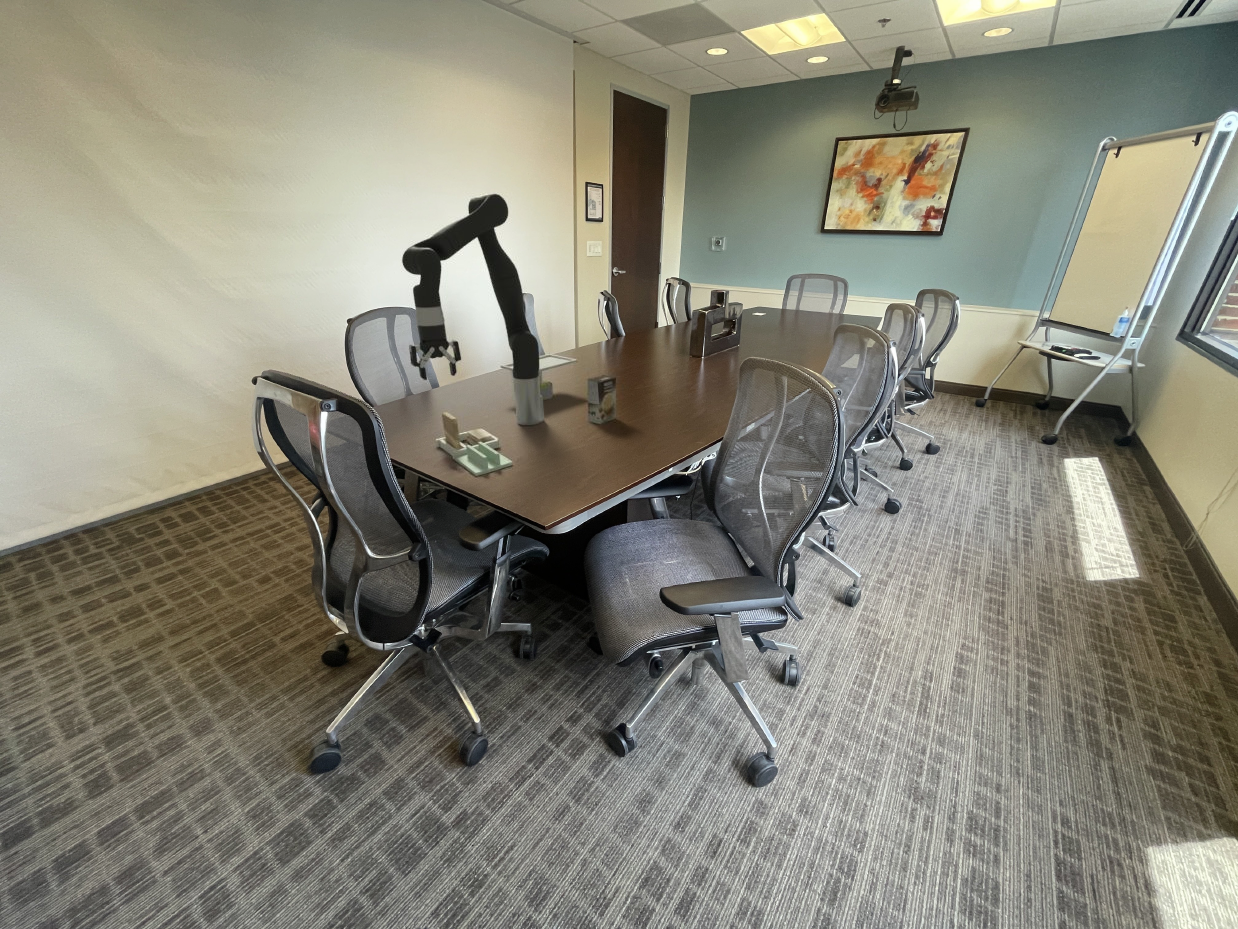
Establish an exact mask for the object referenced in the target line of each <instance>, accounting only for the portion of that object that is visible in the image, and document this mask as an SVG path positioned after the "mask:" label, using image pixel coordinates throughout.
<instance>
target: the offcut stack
mask: <svg viewBox="0 0 1238 929" xmlns="http://www.w3.org/2000/svg"><path fill="white" fill-rule="evenodd" d="M481 429H482V428H476V430H475V429H472V431H471V430H468V432H467V431H466V432H467V434H468V435H467V440H466V442H468V443H469V445H471V446H474V445H478V442H482V443H485V442H489V441H491V439H492V438H491V435H492V434H491V435H489V434H488V433H489V432H488V433H486V432H487V431H486V432H484V431H483V430H484V429H483V430H481Z"/></svg>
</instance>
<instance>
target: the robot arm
mask: <svg viewBox="0 0 1238 929" xmlns="http://www.w3.org/2000/svg"><path fill="white" fill-rule="evenodd" d="M467 208H468V209H467V210H468V215H466V216H464V217H462V218H460V219H458V220H456V221H454V222H451V223H449V224H448V225H446V226H444V227H443V228H441V229H440V230H439V231H437V232H436V233H434V234H432V236H431V237H429V238H427V239H423V240H421V241H419V242H417V243H415V244H413V245H411V246H409V247H408V248H406V250H405V251H404V252H403V255H402V259H401V262H402V267H403V268H404V270H405V271H406V272H408V273H410V274H411V275H415V276H420V277H419V278H420V280H419V284H416V285H414V286H413V288H412V294H413V300H414V302H413V303H414V306H415V318H416V325H417V331H418V337H419V343H418V344H409V346H408V347H409V348H408V350H409V355H410V356H409V358H410V365H412V366H413V367H415V368H416V367H417V368H418V372H419V377H420V378H422V380H423V381H427V380H428V376H427V370H426V367H425V366H426V364H427V362H428V361H429V360H430V359H437V358H443V357H444V358H445V359H446V360H448V364H449V371H450V376H452V377H454V376H455V377H456V374H457V372H458V371H457V362H459V361H462V355H461V350H460V346H459V344H460V343H459V341H457V340H456V339H452V340H450V341H448V338H447V331H446V330H447V329H446V325H445V317H444V311H443V308H442V302H441V295H440V287H441V279H442V278H441V277H442V263H441V262H442V261H446V260H448V259H450V258H452V257H454V255H455V254H457V253H458V252H459V251H461V250H462V249H463V248H464V247H466V246H467V245H468V244H470V243H471V242H472V241H474V240H475V239H477V240H478V243H479V245H480V248H481V251H482V255H483V258H484V262H485V265H486V267H487V270H488V275H489V278H490V279H489V280H490V282H491V286H492V289H493V292H494V295H495V298H496V301H497V304H498V306H499V309H500V312H501V314H502V316H503V320H504V324H505V330H506V336H507V341H508V347H509V349H510V350H511V352H512V363H513V371H512V381H513V391H514V392H513V393H514V402H515V404H514V405H515V414H516V422H517V424H518V425H522V426H535V425H537V424H540V423H542V422H543V421H545V415H544V414H545V412H544V400H543V397H542V396H541V395H540V384H539V366H540V365H539V356H540V350H539V349H540V348H539V342H538V339H537V338H536V337H535V335H533V333H532V332H531V330H530V327H529V324H528V321H527V319H526V315H525V310H524V298H523V296H524V295H523V294H524V293H523V288H522V284H521V280H520V276H519V272H518V269H517V267H516V265H515V263H514V262H513V260H512V259H511V258H510V257H509V255H508V254H507V253H506V251H505V250H504V249H503V247H502V245H501V244H500V242H499V240H498V237H497V234H496V230H495V228H497V227H500V226H502V225H503V224H505V223H506V221H507V219H508V217H509V207H508V204H507V202H506V200H505V199H504V197H503V196H501V195H500V194H498V193H492V192H491V193H486V194H481V195H478V196H474V197H472V198H471V199H470V200H469V202H468V206H467ZM449 347H450V348H452V351H453V356H452V355H451V354H450V353H449V352H448V350H449ZM419 350H420V351H422V354H421V356H420V359H419V360H418V357H417V356H418V355H417V353H418V352H419Z"/></svg>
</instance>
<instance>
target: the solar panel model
mask: <svg viewBox="0 0 1238 929" xmlns="http://www.w3.org/2000/svg"><path fill="white" fill-rule="evenodd" d="M574 363H578V359H576V358H571V357H565V356H562V355H556V354H551V353H547V354H544V355H539V365H540V366H539V384H540V395H541V396H542V397H543V401H546V400H550V399H552V398H553V397H554V387H553V383H552V381H551V382H550V381H546V380H545V381H543V373H542V372H543V371H547V370H551V369H556V368H559V367H563V366H567V365H570V364H574ZM500 369H504V370H508V371H512V372H513V362H509V363H506V364H501V365H500Z"/></svg>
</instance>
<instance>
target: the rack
mask: <svg viewBox="0 0 1238 929" xmlns="http://www.w3.org/2000/svg"><path fill="white" fill-rule="evenodd" d="M476 429H477V428H476ZM476 429H474V430H476ZM480 429H481V430H483V431H484V432H486V433H488V434H489V435H491V438H492V439H491V441H489V442H485V443H484V444H486V445H487V446H489V447H490V448H492V449H493V450H495V449H498V448H500V441H499V438H498V437H497V436H495V435H493V434H491V433H490V432H488V431H486V430H484V429H483V428H480ZM472 430H473V429H472ZM472 430H470V431H472ZM468 431H469V430H468ZM468 431H465V432H460V433H459V438H460V445H461V449H459V450H457V449H455V448H454V447H452V446H451V445H450V444H448V443H447V442H446V438H445V436H443V437H440V438H436V439H435V445H436V447H437V448H441V449H442V450H444V451H445V452H447V453H448V454H449V455H451V456H452V459H453V460H455V461H456V459H455V458H457V457H460V456H464V455H467V449H466V445H465V444H464V443H462V442H464V441H467V435H468V434H467V432H468ZM463 440H464V441H463ZM471 446H472V447H473V448H475V449H476V450H478V451H479V446H478V445H474V446H473V445H471Z"/></svg>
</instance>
